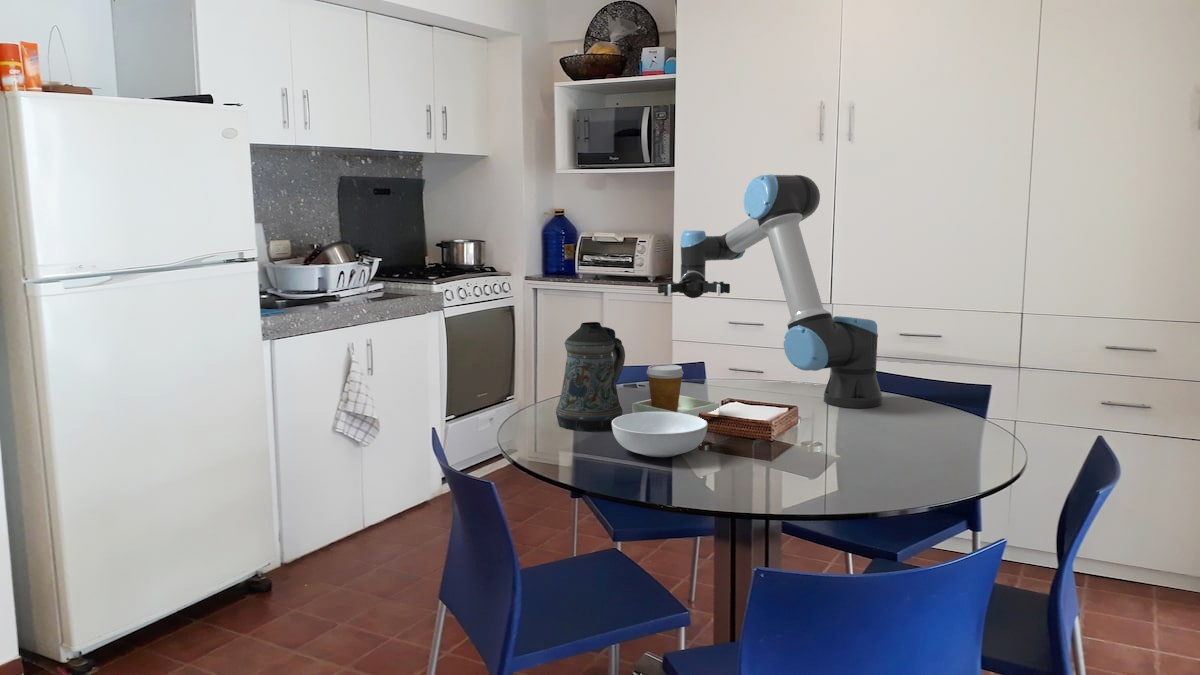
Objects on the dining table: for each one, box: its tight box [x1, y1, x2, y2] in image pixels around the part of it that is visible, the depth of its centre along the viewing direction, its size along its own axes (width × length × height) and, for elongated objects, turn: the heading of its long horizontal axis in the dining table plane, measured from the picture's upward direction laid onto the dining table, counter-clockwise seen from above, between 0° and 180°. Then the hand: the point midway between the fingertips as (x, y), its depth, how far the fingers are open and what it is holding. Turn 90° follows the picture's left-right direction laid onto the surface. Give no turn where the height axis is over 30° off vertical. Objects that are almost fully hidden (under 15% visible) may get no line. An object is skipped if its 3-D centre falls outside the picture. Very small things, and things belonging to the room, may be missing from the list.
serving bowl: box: [611, 412, 709, 458], centre depth 195 cm, size 21×21×7 cm
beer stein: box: [555, 321, 626, 432], centre depth 221 cm, size 16×19×25 cm
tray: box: [631, 394, 720, 417], centre depth 227 cm, size 16×16×4 cm
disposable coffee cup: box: [645, 363, 685, 412], centre depth 227 cm, size 10×10×12 cm
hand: (694, 291), depth 244 cm, fingers open, 13 cm apart
